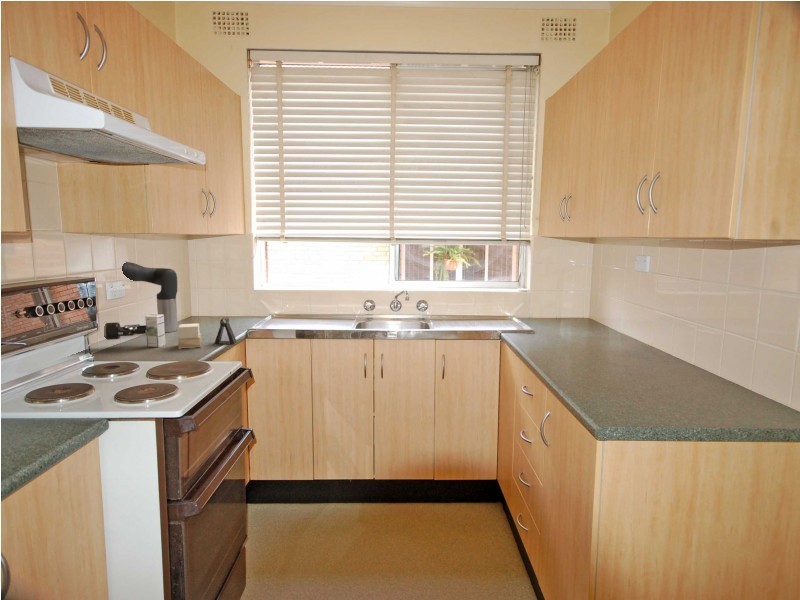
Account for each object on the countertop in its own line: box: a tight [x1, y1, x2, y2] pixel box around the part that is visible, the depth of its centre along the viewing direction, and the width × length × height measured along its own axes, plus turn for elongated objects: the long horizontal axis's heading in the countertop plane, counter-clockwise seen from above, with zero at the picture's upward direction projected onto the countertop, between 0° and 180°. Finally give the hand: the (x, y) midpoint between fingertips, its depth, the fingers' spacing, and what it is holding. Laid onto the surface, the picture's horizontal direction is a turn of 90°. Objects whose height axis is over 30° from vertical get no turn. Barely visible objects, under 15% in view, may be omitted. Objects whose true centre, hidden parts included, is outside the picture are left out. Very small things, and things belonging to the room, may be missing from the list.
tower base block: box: [177, 333, 203, 350], centre depth 220 cm, size 9×9×5 cm
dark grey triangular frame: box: [214, 316, 237, 345], centre depth 227 cm, size 9×6×12 cm, turn 99°
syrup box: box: [144, 313, 166, 348], centre depth 220 cm, size 6×6×14 cm
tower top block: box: [178, 323, 201, 338], centre depth 219 cm, size 8×8×5 cm
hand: (147, 329), depth 219 cm, fingers open, 8 cm apart
